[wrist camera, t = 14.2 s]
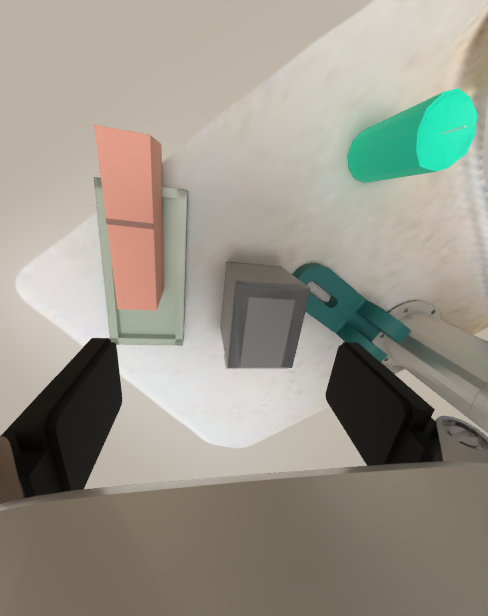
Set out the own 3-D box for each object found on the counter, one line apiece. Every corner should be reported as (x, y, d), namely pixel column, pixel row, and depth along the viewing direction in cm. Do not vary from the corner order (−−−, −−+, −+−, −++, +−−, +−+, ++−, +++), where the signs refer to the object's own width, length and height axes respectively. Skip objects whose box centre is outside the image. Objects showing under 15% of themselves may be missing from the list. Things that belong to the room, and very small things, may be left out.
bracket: (381, 315, 40) (420, 338, 33) (353, 344, 42) (385, 372, 35) (308, 253, 34) (337, 265, 27) (279, 290, 35) (299, 311, 28)
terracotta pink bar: (161, 144, 24) (150, 135, 19) (164, 288, 31) (156, 310, 26) (118, 136, 23) (93, 124, 18) (131, 286, 31) (117, 309, 25)
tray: (187, 191, 28) (186, 190, 26) (183, 338, 36) (182, 345, 34) (101, 179, 26) (93, 177, 25) (115, 337, 34) (110, 344, 32)
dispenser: (268, 333, 38) (290, 373, 29) (220, 332, 36) (226, 373, 27) (280, 266, 34) (310, 288, 25) (226, 262, 32) (237, 283, 23)
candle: (341, 144, 29) (425, 105, 18) (384, 116, 29) (497, 60, 18) (355, 191, 32) (437, 183, 21) (395, 167, 31) (500, 145, 20)
